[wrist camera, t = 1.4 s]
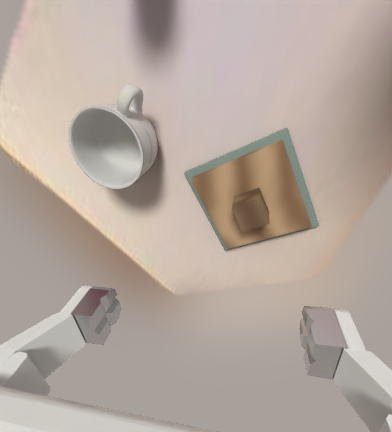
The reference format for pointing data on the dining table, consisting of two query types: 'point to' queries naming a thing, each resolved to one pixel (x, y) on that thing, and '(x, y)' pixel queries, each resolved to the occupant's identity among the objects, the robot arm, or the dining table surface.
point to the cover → (253, 196)
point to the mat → (248, 149)
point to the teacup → (114, 140)
